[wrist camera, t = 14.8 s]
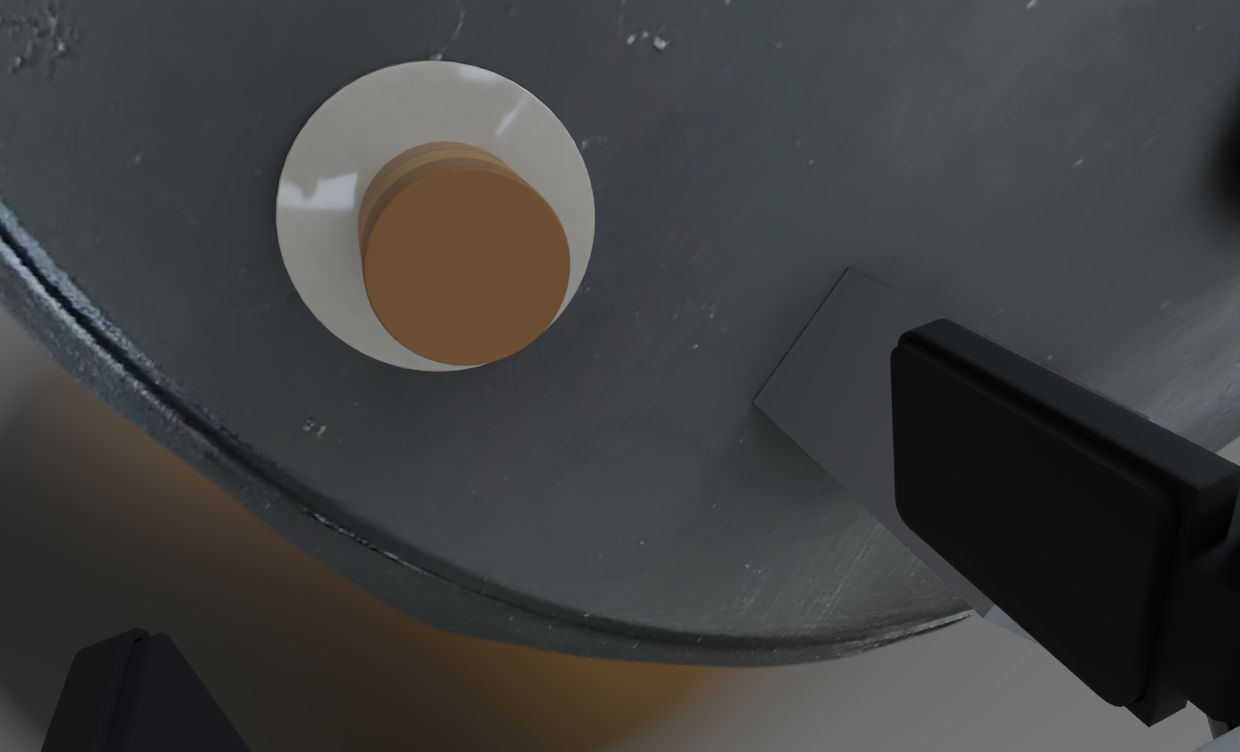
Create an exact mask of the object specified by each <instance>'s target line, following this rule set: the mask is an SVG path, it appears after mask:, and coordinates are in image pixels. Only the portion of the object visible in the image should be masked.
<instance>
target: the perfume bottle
mask: <svg viewBox="0 0 1240 752" xmlns="http://www.w3.org/2000/svg"><path fill="white" fill-rule="evenodd" d="M938 319H947V320H951V321H953V322H955V323H957V324H959V325H961V326H963V327H965V328H966V329H968V330H970V331H972V332H974V333H976V334H978V335H980V336H982V337H984V338H986V339H988V340H990V341H992V342H994V343H996V344H998V345H1000V346H1002V347H1004V348H1006V349H1008V350H1010V351H1012V352H1014V353H1016V354H1018V355H1020V356H1022V357H1024V358H1026V359H1028V360H1030V361H1032V362H1034V363H1036V364H1038V365H1040V366H1042V367H1044V368H1046V369H1048V370H1050V371H1052V372H1054V373H1056V374H1058V375H1060V376H1062V377H1064V378H1066V379H1068V380H1070V381H1072V382H1074V383H1076V384H1078V385H1080V386H1082V387H1083V388H1085V389H1087V390H1089V391H1091V392H1093V393H1095V394H1097V395H1099V396H1101V397H1103V398H1105V399H1107V400H1109V401H1111V402H1113V403H1115V404H1117V405H1119V406H1121V407H1123V408H1125V409H1127V410H1129V411H1131V412H1133V413H1135V414H1137V415H1139V416H1141V417H1143V418H1145V419H1147V420H1149V421H1151V422H1153V423H1155V422H1154V421H1153V420H1152V419H1151V418H1149V417H1147V416H1145V415H1143V414H1141V413H1139V412H1137V411H1135V410H1133V409H1131V408H1129V407H1127V406H1125V405H1123V404H1121V403H1119V402H1117V401H1115V400H1113V399H1111V398H1109V397H1107V396H1105V395H1103V394H1101V393H1099V392H1097V391H1095V390H1093V389H1091V388H1090V387H1088V386H1086V385H1084V384H1082V383H1080V382H1078V381H1076V380H1074V379H1072V378H1070V377H1068V376H1066V375H1064V374H1062V373H1060V372H1058V371H1056V370H1054V369H1052V368H1050V367H1048V366H1046V365H1044V364H1042V363H1040V362H1038V361H1036V360H1034V359H1032V358H1030V357H1028V356H1026V355H1024V354H1022V353H1020V352H1018V351H1016V350H1014V349H1012V348H1010V347H1008V346H1006V345H1004V344H1002V343H1000V342H998V341H996V340H994V339H992V338H990V337H988V336H986V335H984V334H982V333H980V332H978V331H976V330H974V329H972V328H970V327H968V326H966V325H964V324H962V323H960V322H958V321H956V320H954V319H952V318H950V317H948V316H946V315H944V314H942V313H940V312H938V311H936V310H934V309H932V308H930V307H928V306H926V305H924V304H922V303H920V302H918V301H916V300H914V299H912V298H910V297H908V296H906V295H904V294H902V293H900V292H898V291H896V290H894V289H892V288H890V287H888V286H886V285H884V284H882V283H880V282H878V281H876V280H874V279H872V278H870V277H868V276H866V275H864V274H862V273H860V272H858V271H856V270H854V269H853V268H851V267H849V268H848V269H847V271H846V272H845V274H844V275H843V276H842V278H841V279H840V281H839V282H838V283H837V285H836V286H835V288H834V289H833V290H832V292H831V293H830V295H829V296H828V297H827V299H826V300H825V302H824V303H823V304H822V306H821V307H820V309H819V310H818V311H817V313H816V314H815V316H814V317H813V318H812V320H811V321H810V323H809V324H808V325H807V327H806V328H805V330H804V331H803V332H802V334H801V335H800V337H799V338H798V339H797V341H796V342H795V344H794V345H793V346H792V348H791V349H790V351H789V352H788V353H787V355H786V356H785V358H784V359H783V360H782V362H781V363H780V365H779V366H778V367H777V369H776V370H775V372H774V373H773V374H772V376H771V377H770V379H769V380H768V381H767V383H766V384H765V386H764V387H763V388H762V390H761V391H760V393H759V394H758V395H757V397H756V398H755V400H754V401H753V403H754V404H755V405H756V406H757V407H758V408H759V409H760V410H761V411H763V412H764V413H765V414H766V415H767V416H768V417H769V418H770V419H771V420H772V421H773V422H774V423H775V424H776V425H777V426H779V427H780V428H781V429H782V430H783V431H784V432H785V433H786V434H787V435H788V436H789V437H790V438H791V439H792V440H793V441H795V442H796V443H797V444H798V445H799V446H800V447H801V448H802V449H803V450H804V451H805V452H806V453H807V454H808V455H810V456H811V457H812V458H813V459H814V460H815V461H816V462H817V463H818V464H819V465H820V466H821V467H822V468H823V469H824V470H826V471H827V472H828V473H829V474H830V475H831V476H832V477H833V478H834V479H835V480H836V481H837V482H838V483H839V484H840V485H842V486H843V487H844V488H845V489H846V490H847V491H848V492H849V493H850V494H851V495H852V496H853V497H854V498H855V499H856V500H858V501H859V502H860V503H861V504H862V505H863V506H864V507H865V508H866V509H867V510H868V511H869V512H870V513H871V514H873V515H874V516H875V517H876V518H877V519H878V520H879V521H880V522H881V523H882V524H883V525H884V526H885V527H886V528H887V529H889V530H890V531H891V532H892V533H893V534H894V535H895V536H896V537H897V538H898V539H899V540H900V541H901V542H902V543H903V544H905V545H906V546H907V547H908V548H909V549H910V550H911V551H912V552H913V553H914V554H915V555H916V556H917V557H918V558H919V559H921V560H922V561H923V562H924V563H925V564H926V565H927V566H928V567H929V568H930V569H931V570H932V571H933V572H934V573H936V574H937V575H938V576H939V577H940V578H941V579H942V580H943V581H944V582H945V583H946V584H947V585H948V586H949V587H950V588H952V589H953V590H954V591H955V592H956V593H957V594H958V595H959V596H960V597H961V598H962V599H963V600H964V601H965V602H966V603H968V604H969V605H970V606H971V607H972V608H973V609H974V610H975V611H976V612H977V613H978V614H980V615H981V616H982V617H983V618H984V619H986V620H988V621H990V622H992V623H994V624H997V625H999V626H1001V627H1003V628H1005V629H1007V630H1009V631H1011V632H1013V633H1015V634H1018V635H1020V636H1022V637H1024V638H1026V639H1028V640H1030V641H1032V642H1034V643H1037V644H1039V645H1041V644H1040V643H1038V642H1037V641H1036V640H1035V639H1034V638H1033V637H1032V636H1031V635H1029V634H1028V633H1027V632H1026V631H1025V630H1024V629H1023V628H1021V627H1020V626H1019V625H1018V624H1017V623H1016V622H1015V621H1014V620H1012V619H1011V618H1010V617H1009V616H1008V615H1007V614H1006V613H1004V612H1003V611H1002V610H1001V609H1000V608H999V607H998V606H997V605H995V604H994V603H993V602H992V601H991V600H990V599H989V598H988V597H986V596H985V595H984V594H983V593H982V592H981V591H980V590H978V589H977V588H976V587H975V586H974V585H973V584H972V583H971V582H969V581H968V580H967V579H966V578H965V577H964V576H963V575H962V574H960V573H959V572H958V571H957V570H956V569H955V568H954V567H952V566H951V565H950V564H949V563H948V562H947V561H946V560H945V559H943V558H942V557H941V556H940V555H939V554H938V553H937V552H936V551H934V550H933V549H932V548H931V547H930V546H929V545H928V544H926V543H925V542H924V541H923V540H922V539H921V538H920V537H919V536H917V535H916V534H915V533H914V532H913V531H912V530H911V529H909V528H908V526H907V525H906V524H905V523H904V522H903V520H902V519H901V517H900V515H899V513H898V511H897V508H896V503H895V483H894V454H893V426H892V398H891V369H890V356H891V352H892V350H893V349H894V348H895V347H897V345H898V340H899V338H900V336H901V335H902V334H903V333H904V332H906V331H909V330H912V329H914V328H917V327H919V326H922V325H925V324H927V323H930V322H932V321H935V320H938ZM1155 424H1157V423H1155ZM1157 425H1158V424H1157ZM1041 646H1042V645H1041Z"/></svg>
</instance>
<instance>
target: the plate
mask: <svg viewBox="0 0 1240 752" xmlns="http://www.w3.org/2000/svg"><path fill="white" fill-rule="evenodd" d="M433 142H459V143H465V144H469V145H472V146H476V147H479V148H481V149H483V150H485V151H488V152H490V153H491V154H493V155H494V156H496V157H498V158H499V159H500V160H502V161H503V162H504V163H505V164H507V165H508V166H509V167H510V168H511V169H512V170H513V171H515V172H516V173H517V174H518V175H519V176H520V177H521V178H522V179H524V180H525V181H526V182H527V183H528V184H529V185H530V186H531V187H533V188H534V189H535V190H536V191H537V192H538V193H539V194H540V195H541V196H542V197H543V198H544V199H545V200H546V201H547V202H548V203H549V205H550V206H551V207H552V209H553V210H554V212H555V213H556V215H557V216H558V218H559V220H560V222H561V224H562V226H563V229H564V232H565V234H566V237H567V241H568V246H569V251H570V277H569V283H568V288H567V291H566V294H565V298H564V300H563V302H562V305H561V307H560V309H559V311H558V312H557V314H556V316H555V317H554V319H553V321H552V322H551V323H550V325H551V324H552V323H553V322H554V321H555V320H556V319H557V318H558V317H559V316H560V314H561V313H562V312H563V310H564V309H565V308H566V307H567V305H568V304H569V302H570V301H571V299H572V297H573V296H574V294H575V292H576V291H577V289H578V287H579V285H580V283H581V280H582V278H583V276H584V274H585V271H586V268H587V265H588V262H589V258H590V255H591V250H592V245H593V239H594V228H595V209H594V197H593V192H592V187H591V182H590V178H589V175H588V172H587V169H586V166H585V163H584V160H583V158H582V156H581V154H580V152H579V150H578V148H577V146H576V144H575V142H574V140H573V139H572V137H571V136H570V134H569V133H568V131H567V130H566V128H565V127H564V125H563V124H562V123H561V122H560V121H559V119H558V118H557V117H556V116H555V115H554V114H553V113H552V111H551V110H550V109H549V108H548V107H547V106H545V105H544V104H543V103H542V102H541V101H540V100H539V99H537V98H536V97H535V96H534V95H533V94H531V93H530V92H528V91H527V90H525V89H524V88H522V87H521V86H519V85H518V84H516V83H515V82H513V81H511V80H509V79H507V78H505V77H503V76H501V75H499V74H496V73H494V72H492V71H489V70H486V69H483V68H480V67H477V66H474V65H471V64H466V63H460V62H455V61H450V60H432V59H424V60H413V61H404V62H399V63H395V64H391V65H387V66H383V67H380V68H378V69H375V70H372V71H370V72H367V73H365V74H362V75H360V76H359V77H357V78H355V79H353V80H352V81H350V82H348V83H346V84H345V85H343V86H342V87H340V88H339V89H338V90H336V91H335V92H334V93H333V94H331V95H330V96H329V97H328V98H326V99H325V100H324V101H323V102H322V103H321V104H320V105H319V106H318V107H317V109H316V110H315V111H314V112H313V113H312V114H311V115H310V116H309V118H308V119H307V120H306V122H305V123H304V125H303V126H302V128H301V129H300V130H299V132H298V133H297V135H296V137H295V139H294V141H293V143H292V145H291V147H290V149H289V151H288V154H287V157H286V160H285V163H284V166H283V169H282V172H281V175H280V180H279V186H278V192H277V197H276V227H277V236H278V243H279V247H280V251H281V254H282V258H283V262H284V265H285V267H286V269H287V272H288V274H289V277H290V279H291V281H292V283H293V285H294V287H295V288H296V290H297V292H298V294H299V295H300V297H301V299H302V300H303V302H304V303H305V304H306V306H307V307H308V308H309V309H310V311H311V312H312V313H313V314H314V316H315V317H316V318H317V319H318V320H319V321H320V322H321V323H322V324H323V325H324V326H325V327H326V328H327V329H328V330H329V331H330V332H332V333H333V334H334V335H335V336H337V337H338V338H339V339H341V340H342V341H343V342H345V343H346V344H348V345H349V346H351V347H353V348H354V349H356V350H358V351H360V352H361V353H363V354H365V355H367V356H370V357H372V358H374V359H377V360H379V361H382V362H384V363H388V364H391V365H395V366H398V367H402V368H408V369H414V370H420V371H440V372H441V371H454V370H463V369H468V368H473V367H478V366H481V365H485V364H481V365H470V366H461V365H450V364H444V363H439V362H436V361H432V360H429V359H426V358H424V357H422V356H420V355H417V354H415V353H414V352H412V351H410V350H409V349H407V348H405V347H404V346H403V345H402V344H400V343H399V342H398V341H396V340H395V339H394V338H393V337H392V336H391V335H390V334H389V333H388V332H387V331H386V330H385V328H384V327H383V325H382V324H381V323H380V321H379V320H378V318H377V317H376V315H375V313H374V311H373V309H372V307H371V305H370V302H369V299H368V297H367V294H366V289H365V284H364V279H363V271H362V262H361V254H360V246H359V238H358V216H359V211H360V206H361V203H362V200H363V197H364V194H365V192H366V190H367V188H368V186H369V185H370V183H371V181H372V180H373V179H374V177H375V176H376V174H377V173H378V172H379V171H380V170H381V169H382V168H383V167H384V166H385V165H386V164H387V163H388V162H389V161H391V160H392V159H393V158H395V157H396V156H398V155H399V154H401V153H403V152H405V151H406V150H409V149H411V148H414V147H416V146H419V145H423V144H427V143H433ZM550 325H549V326H550ZM549 326H548V327H549ZM548 327H547V328H548ZM547 328H546V329H547ZM486 364H488V363H486Z"/></svg>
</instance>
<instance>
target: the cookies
mask: <svg viewBox="0 0 1240 752" xmlns="http://www.w3.org/2000/svg"><path fill="white" fill-rule="evenodd" d="M358 238H359V246H360V254H361V262H362V271H363V279H364V284H365V289H366V294H367V297H368V299H369V302H370V305H371V307H372V309H373V311H374V313H375V315H376V317H377V318H378V320H379V321H380V323H381V324H382V325H383V327H384V328H385V330H386V331H387V332H388V333H389V334H390V335H391V336H392V337H393V338H394V339H395V340H396V341H398V342H399V343H400V344H402V345H403V346H404V347H405V348H407V349H409V350H410V351H412V352H414V353H415V354H417V355H420V356H422V357H424V358H426V359H429V360H432V361H436V362H439V363H444V364H450V365H461V366H470V365H481V364H486V363H491V362H495V361H498V360H501V359H504V358H506V357H509V356H511V355H513V354H515V353H517V352H518V351H520V350H522V349H523V348H525V347H527V346H528V345H529V344H530V343H532V342H533V341H534V340H536V339H537V338H538V337H539V336H540V335H541V334H542V333H543V332H544V331H545V330H546V328H547V327H548V326H549V325H550V323H551V322H552V321H553V319H554V317H555V316H556V314H557V312H558V311H559V309H560V307H561V305H562V302H563V300H564V298H565V294H566V291H567V288H568V283H569V277H570V251H569V246H568V241H567V237H566V234H565V232H564V229H563V226H562V224H561V222H560V220H559V218H558V216H557V215H556V213H555V212H554V210H553V209H552V207H551V206H550V205H549V203H548V202H547V201H546V200H545V199H544V198H543V197H542V196H541V195H540V194H539V193H538V192H537V191H536V190H535V189H534V188H533V187H531V186H530V185H529V184H528V183H527V182H526V181H525V180H524V179H522V178H521V177H520V176H519V175H518V174H517V173H516V172H515V171H513V170H512V169H511V168H510V167H509V166H508V165H507V164H505V163H504V162H503V161H502V160H500V159H499V158H498V157H496V156H494V155H493V154H491V153H490V152H488V151H485V150H483V149H481V148H479V147H476V146H472V145H469V144H465V143H459V142H433V143H427V144H423V145H419V146H416V147H414V148H411V149H409V150H406V151H405V152H403V153H401V154H399V155H398V156H396V157H395V158H393V159H392V160H391V161H389V162H388V163H387V164H386V165H385V166H384V167H383V168H382V169H381V170H380V171H379V172H378V173H377V174H376V176H375V177H374V179H373V180H372V181H371V183H370V185H369V186H368V188H367V190H366V192H365V194H364V197H363V200H362V203H361V206H360V211H359V216H358Z"/></svg>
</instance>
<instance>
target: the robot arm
mask: <svg viewBox="0 0 1240 752" xmlns="http://www.w3.org/2000/svg"><path fill="white" fill-rule="evenodd" d="M890 369H891V398H892V426H893V454H894V483H895V503H896V508H897V511H898V513H899V515H900V517H901V519H902V520H903V522H904V523H905V524H906V525H907V526H908V528H909V529H911V530H912V531H913V532H914V533H915V534H916V535H917V536H919V537H920V538H921V539H922V540H923V541H924V542H925V543H926V544H928V545H929V546H930V547H931V548H932V549H933V550H934V551H936V552H937V553H938V554H939V555H940V556H941V557H942V558H943V559H945V560H946V561H947V562H948V563H949V564H950V565H951V566H952V567H954V568H955V569H956V570H957V571H958V572H959V573H960V574H962V575H963V576H964V577H965V578H966V579H967V580H968V581H969V582H971V583H972V584H973V585H974V586H975V587H976V588H977V589H978V590H980V591H981V592H982V593H983V594H984V595H985V596H986V597H988V598H989V599H990V600H991V601H992V602H993V603H994V604H995V605H997V606H998V607H999V608H1000V609H1001V610H1002V611H1003V612H1004V613H1006V614H1007V615H1008V616H1009V617H1010V618H1011V619H1012V620H1014V621H1015V622H1016V623H1017V624H1018V625H1019V626H1020V627H1021V628H1023V629H1024V630H1025V631H1026V632H1027V633H1028V634H1029V635H1031V636H1032V637H1033V638H1034V639H1035V640H1036V641H1037V642H1038V643H1040V644H1041V645H1042V646H1043V647H1044V648H1045V649H1047V651H1049V652H1050V653H1051V654H1052V655H1053V656H1054V657H1055V658H1057V659H1058V660H1059V661H1060V662H1061V663H1062V664H1063V665H1064V666H1066V667H1067V668H1068V669H1069V670H1070V671H1071V672H1073V674H1075V675H1076V676H1077V677H1078V678H1079V679H1080V680H1081V681H1083V682H1084V683H1085V684H1086V685H1087V686H1088V687H1089V688H1090V689H1092V690H1093V691H1094V692H1095V693H1096V694H1097V695H1099V696H1100V697H1101V698H1102V699H1103V700H1105V701H1106V702H1108V703H1109V704H1112V705H1114V706H1118V707H1122V706H1125V707H1126V708H1127V709H1128V710H1129V711H1131V712H1132V713H1133V714H1134V715H1135V716H1136V717H1137V718H1139V719H1140V720H1141V721H1142V722H1143V723H1144V724H1146V725H1147V726H1148V727H1150V726H1152V725H1154V724H1156V723H1158V722H1159V721H1161V720H1163V719H1165V718H1167V717H1168V716H1170V715H1172V714H1174V713H1176V712H1177V711H1179V710H1181V709H1183V708H1185V707H1186V704H1187V700H1189V701H1190V702H1191V703H1193V704H1194V705H1195V706H1196V707H1198V708H1199V709H1200V710H1201V711H1203V712H1204V713H1205V714H1206V715H1207V718H1208V722H1209V725H1210V729H1211V732H1212V735H1213V739H1214V740H1212V741H1210V742H1208V743H1207V744H1205V745H1203V746H1201V747H1199V748H1197V749H1196V750H1194V751H1192V752H1240V466H1238V465H1236V464H1234V463H1232V462H1230V461H1228V460H1226V459H1224V458H1222V457H1220V456H1218V455H1216V454H1214V453H1212V452H1210V451H1208V450H1206V449H1204V448H1202V447H1201V446H1199V445H1197V444H1195V443H1193V442H1191V441H1189V440H1187V439H1185V438H1183V437H1181V436H1179V435H1177V434H1175V433H1173V432H1171V431H1169V430H1167V429H1165V428H1163V427H1161V426H1159V425H1157V424H1155V423H1153V422H1151V421H1149V420H1147V419H1145V418H1143V417H1141V416H1139V415H1137V414H1135V413H1133V412H1131V411H1129V410H1127V409H1125V408H1123V407H1121V406H1119V405H1117V404H1115V403H1113V402H1111V401H1109V400H1107V399H1105V398H1103V397H1101V396H1099V395H1097V394H1095V393H1093V392H1091V391H1089V390H1087V389H1085V388H1083V387H1082V386H1080V385H1078V384H1076V383H1074V382H1072V381H1070V380H1068V379H1066V378H1064V377H1062V376H1060V375H1058V374H1056V373H1054V372H1052V371H1050V370H1048V369H1046V368H1044V367H1042V366H1040V365H1038V364H1036V363H1034V362H1032V361H1030V360H1028V359H1026V358H1024V357H1022V356H1020V355H1018V354H1016V353H1014V352H1012V351H1010V350H1008V349H1006V348H1004V347H1002V346H1000V345H998V344H996V343H994V342H992V341H990V340H988V339H986V338H984V337H982V336H980V335H978V334H976V333H974V332H972V331H970V330H968V329H966V328H965V327H963V326H961V325H959V324H957V323H955V322H953V321H951V320H947V319H938V320H935V321H932V322H930V323H927V324H925V325H922V326H919V327H917V328H914V329H912V330H909V331H906V332H904V333H903V334H902V335H901V336H900V338H899V340H898V345H897V347H895V348H894V349H893V350H892V352H891V356H890ZM41 752H251V751H250V749H249V748H248V746H247V745H246V744H245V742H244V741H243V739H242V738H241V737H240V735H239V734H238V732H237V731H236V730H235V728H234V727H233V725H232V724H231V723H230V721H229V720H228V718H227V717H226V715H225V714H224V713H223V712H222V710H221V708H220V707H219V706H218V704H217V703H216V701H215V700H214V699H213V697H212V696H211V694H210V693H209V692H208V690H207V689H206V687H205V686H204V685H203V683H202V682H201V680H200V679H199V677H198V676H197V675H196V673H195V672H194V670H193V669H192V668H191V666H190V665H189V663H188V662H187V661H186V659H185V658H184V656H183V655H182V654H181V652H180V651H179V649H178V648H177V647H176V645H175V644H174V642H173V641H172V640H171V639H170V637H168V636H167V635H165V634H164V633H158V634H156V635H153V636H151V635H150V634H149V633H148V632H147V631H145V630H143V629H141V628H135V629H132V630H129V631H127V632H124V633H122V634H119V635H117V636H114V637H111V638H109V639H106V640H103V641H101V642H98V643H96V644H93V645H90V646H88V647H85V648H83V649H82V650H80V651H79V652H77V654H76V656H75V657H74V659H73V662H72V665H71V667H70V670H69V673H68V676H67V679H66V682H65V684H64V687H63V690H62V693H61V696H60V698H59V701H58V704H57V707H56V710H55V713H54V716H53V718H52V721H51V724H50V727H49V730H48V733H47V735H46V738H45V742H44V744H43V747H42V750H41Z"/></svg>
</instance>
